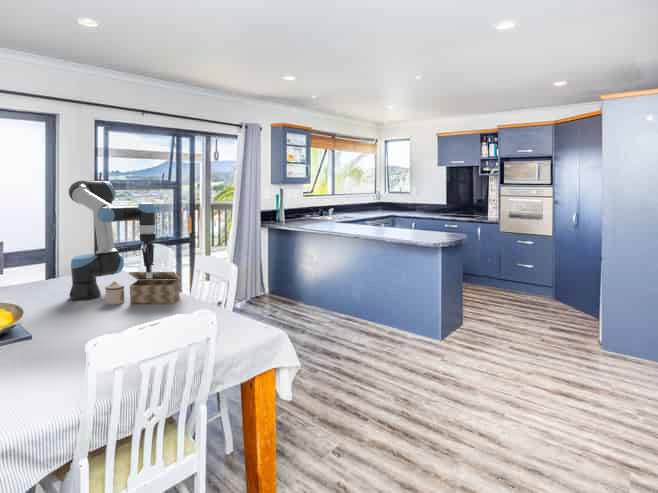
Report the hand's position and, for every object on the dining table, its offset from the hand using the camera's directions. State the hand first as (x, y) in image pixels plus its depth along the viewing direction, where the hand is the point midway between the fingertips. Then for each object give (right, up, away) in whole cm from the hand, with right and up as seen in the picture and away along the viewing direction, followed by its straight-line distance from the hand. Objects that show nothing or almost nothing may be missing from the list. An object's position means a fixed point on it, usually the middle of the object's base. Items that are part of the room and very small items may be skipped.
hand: (149, 278), depth 222 cm
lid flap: (-1, 0, +10) cm, 10 cm away
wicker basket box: (-1, -13, +11) cm, 17 cm away
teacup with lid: (-21, -14, +7) cm, 26 cm away
